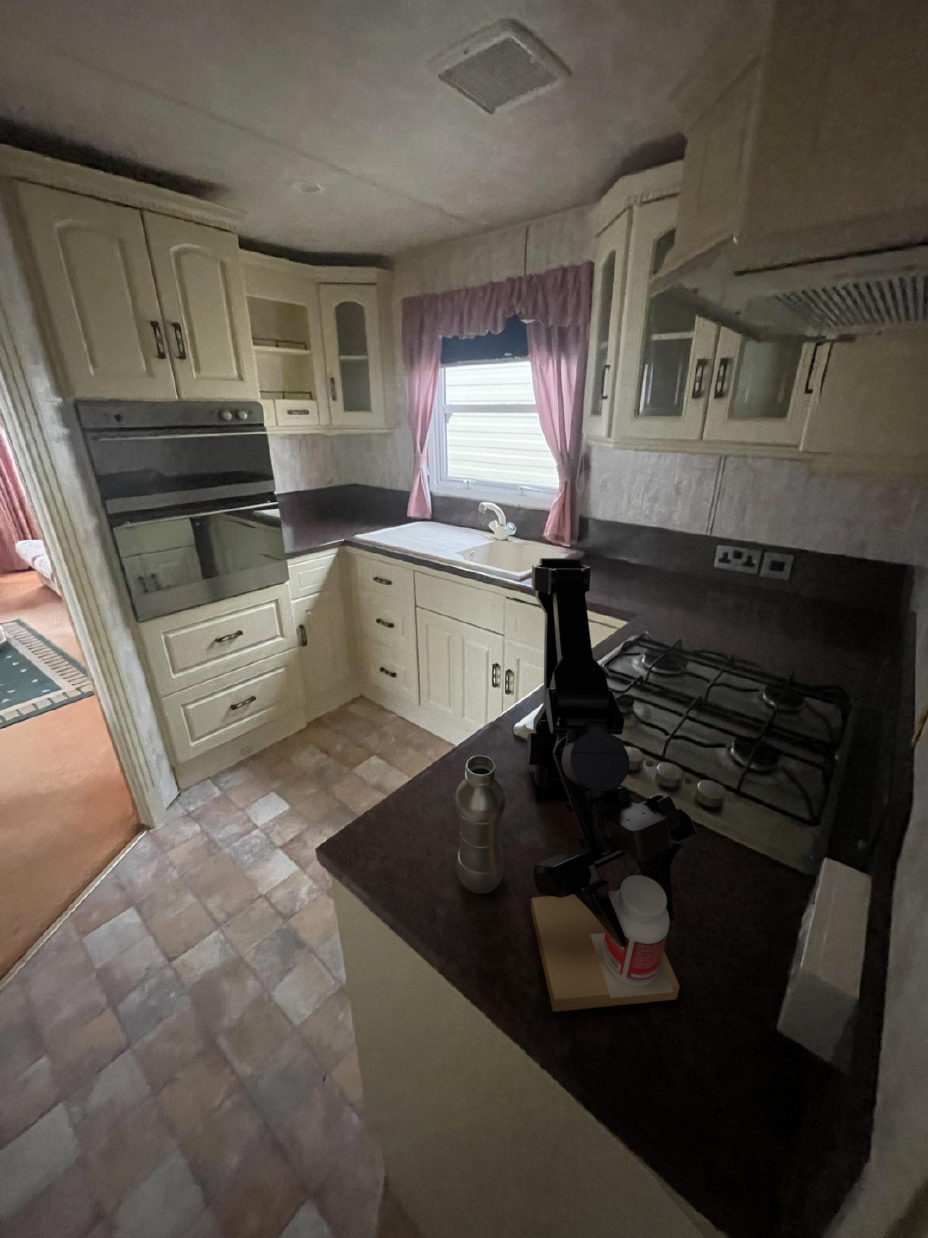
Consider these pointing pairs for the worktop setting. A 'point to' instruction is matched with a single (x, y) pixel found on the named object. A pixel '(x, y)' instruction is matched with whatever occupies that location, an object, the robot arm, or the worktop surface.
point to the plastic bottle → (480, 826)
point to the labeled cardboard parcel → (586, 960)
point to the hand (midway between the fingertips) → (646, 933)
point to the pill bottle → (638, 931)
